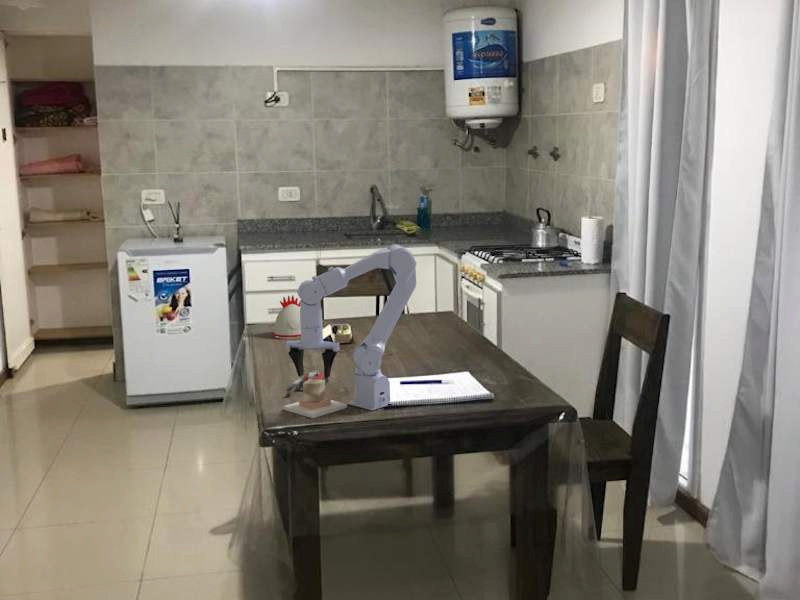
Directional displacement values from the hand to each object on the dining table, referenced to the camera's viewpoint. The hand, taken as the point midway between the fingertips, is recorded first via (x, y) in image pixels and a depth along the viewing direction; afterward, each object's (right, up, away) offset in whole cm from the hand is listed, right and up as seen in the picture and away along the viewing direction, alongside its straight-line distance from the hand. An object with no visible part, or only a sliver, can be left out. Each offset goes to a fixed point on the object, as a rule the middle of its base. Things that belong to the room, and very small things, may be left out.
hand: (314, 376), depth 247 cm
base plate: (0, -9, +2) cm, 9 cm away
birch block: (0, -6, +1) cm, 6 cm away
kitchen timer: (-17, +7, +96) cm, 98 cm away
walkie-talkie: (-4, -6, +23) cm, 24 cm away
